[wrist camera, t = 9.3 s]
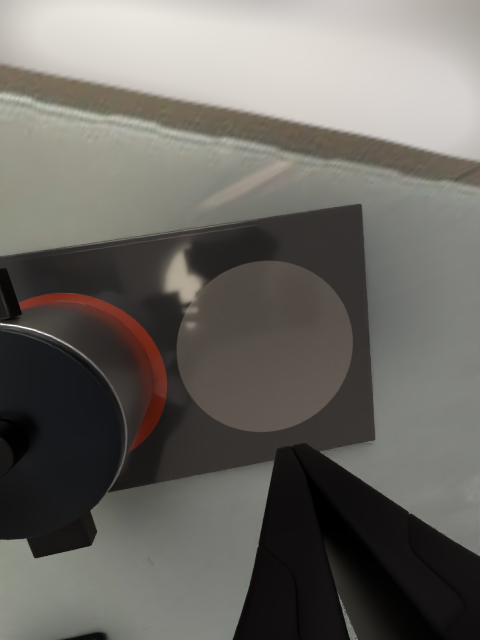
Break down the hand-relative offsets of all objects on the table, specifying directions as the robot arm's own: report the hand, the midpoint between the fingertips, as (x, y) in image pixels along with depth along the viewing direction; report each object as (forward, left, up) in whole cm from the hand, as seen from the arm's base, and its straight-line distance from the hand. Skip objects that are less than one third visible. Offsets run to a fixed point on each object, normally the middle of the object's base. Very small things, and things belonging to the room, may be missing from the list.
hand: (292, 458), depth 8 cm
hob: (-5, +1, -9) cm, 10 cm away
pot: (-10, +1, -8) cm, 13 cm away
